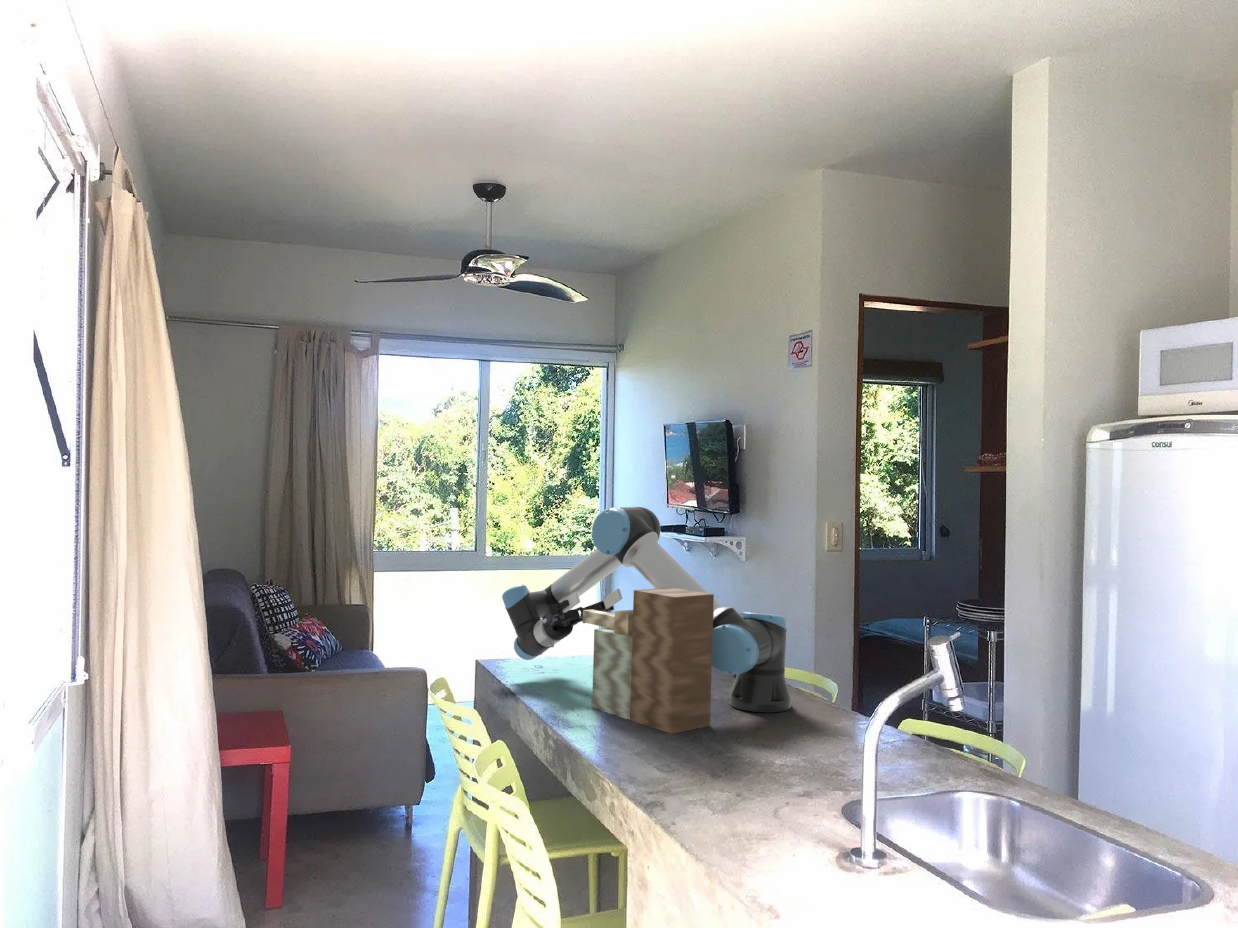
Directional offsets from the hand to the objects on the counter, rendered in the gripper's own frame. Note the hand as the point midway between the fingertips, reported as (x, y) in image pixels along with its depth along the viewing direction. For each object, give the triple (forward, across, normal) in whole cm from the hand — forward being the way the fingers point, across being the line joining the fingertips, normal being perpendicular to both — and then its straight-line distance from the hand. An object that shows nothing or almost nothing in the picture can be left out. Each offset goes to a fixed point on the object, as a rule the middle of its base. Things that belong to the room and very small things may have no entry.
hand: (599, 595), depth 250 cm
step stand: (+4, 0, -33) cm, 33 cm away
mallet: (+2, 0, -9) cm, 9 cm away
